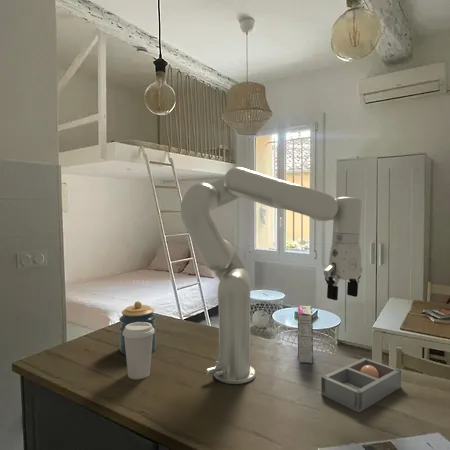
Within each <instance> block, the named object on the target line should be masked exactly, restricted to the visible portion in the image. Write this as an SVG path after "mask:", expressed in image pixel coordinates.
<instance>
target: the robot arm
mask: <svg viewBox="0 0 450 450" xmlns="http://www.w3.org/2000/svg"><path fill="white" fill-rule="evenodd" d="M240 198H243V199H245V200H249V201H252V202H255V203H259V204H261V205H264V206H267V207H270V208H274V209H279V210H287V211H290V212H293V213H297V214H300V215H303V216H307V217H309V218H310V219H312V220H313V221H317V222H328V221H332V222H333V223H332V238H331V239H332V240H331V247H330V252H329V259H328V267H326V268H325V269H324V270H323V275H324V280H325V281H326V282H325V283H326V285H327V288H326V289H327V290H326V298H327V299H329V300H333V301H338V299H339V297H338V296H339V286H338V284H339V281H340V280H348V281H347V289H346V294H347V296H351V297H355V298H356V297H358V291H359V283H360V278H361V277H362V276H361V275H362V272H363V267H362V252H361V246H360V237H361V236H360V234H361V219H362V218H361V217H362V200H361V199H360V198H358V197H355V196H352V197H351V196H350V197H349V196H340V197H337V198H335V197H334V196H332V195H331V194H328V193H326V192H322V191H320V190H316V189H313V188H309V187H306V186H303V185H300V184H296V183H291V182H290V181H285V180H283V179H279V178H276V177H272V176H269V175H267V174H265V173H264V174H263V173H260V172H257V171H254V170H250V169H248V168H245V167H241V166H234V167H232V168H229V170H227V172H226V173H225V174H224V176H223V177H221V178H219V179H217V180H215V181H213V182H211V183H206V182H196V183H194V184H192V185H191V186H190V187H189V188H188V189H187V191H186V192H185V194H184V195H183V197H182V201H181V204H180V216H181V219H182V222H183V225H184V227H185V230H186V231H187V234H188V235H189V237H190V239H191V241H192V242H193V245H194V246H195V249H196V250H197V252H198V254H199V256H200V258H201V259H202V261H203V263H204V265H205V266H206V268H207V269H209V270H211V271H212V272H215V274H216V276H217V278H218V280H219V283H218V287H217V302H218V304H217V305H218V360H215V364H214V365H213V366H212V367H208V368H206V369H205V370H204V371H205V375H206V376H207V377H208V376H212V375H213V377H214V379H216V380H218V381H219V382H222V383H224V384H231V385H240V384H241V385H242V384H246V383H249V382H250V381H252V380H253V379H254V378H255V377H256V370H255V369H254V367H252V366H251V287H252V286H251V285H252V280H251V277H250V273H249V272H248V270H247V268H246V266H245V264H244V263H243V262H242V261H243V260H242V259H241V258H240V256H239V254H238V253H237V250H236V249H235V247H234V246H233V245H232V243H231V242H230V241H228V240H227V239H225V238H224V237H223V236H222V234H221V233H220V230H219V228H218V227H217V225H216V223H215V221H214V220H213V219H212V217H211V213H210V212H211V211H214V210H216V209H218V208H221V207H223V206H225V205H228V204H230V203H232V202H235V201H236V200H238V199H240Z"/></svg>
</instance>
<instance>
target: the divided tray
mask: <svg viewBox="0 0 450 450" xmlns="http://www.w3.org/2000/svg"><path fill="white" fill-rule="evenodd" d="M365 365H371V366H373V367H375V368H376V369H377V371H378V373H379V379H378V378H375V377H372V376H370V375H367V374H365V373H362V372H360V370H361V368H362V367H363V366H365ZM320 380H321V387H320V388H321V389H320V390H321V391H320V392H321V395H322V396H324V397H326V398H327V399H330V400H333V401H334V402H336V403H338V404H340V405H342V406H344V407H346V408H348V409H350V410H353V411H355V413H362V412H363V411H364V410H366V409H368V408H369V407H371V406H373V405H374V404H376V403H378V402H380V401H381V400H382V399H384V398H386V397H387V396H389V395H391V394H392V393H394V392H395V391H398V390H399V389H400V388H402V370H401V369H398V368H395V367H392V366H390V365H387V364H385V363H381V362H378V361H375V360H374V359H373V360H372V359H370V358H366V357H363V358H361V359H359V360H356V361H354V362H352V363H349V364H348V365H345V366H343V367H340V368H338V369H336V370H334V371H331V372H330V373H328V374H325V375H321V379H320Z"/></svg>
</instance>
